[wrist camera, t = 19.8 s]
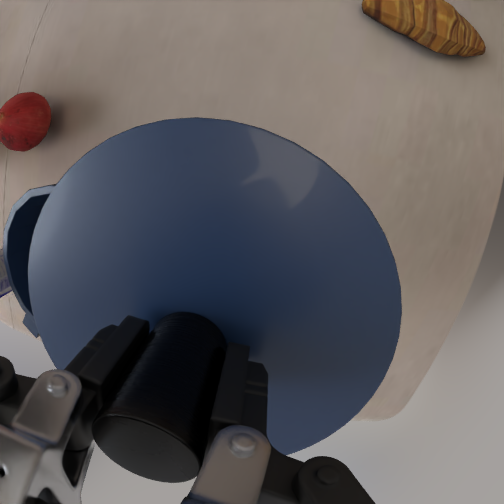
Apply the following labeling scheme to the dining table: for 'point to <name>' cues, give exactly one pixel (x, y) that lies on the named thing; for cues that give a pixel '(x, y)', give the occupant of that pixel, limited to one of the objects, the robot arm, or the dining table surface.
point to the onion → (24, 121)
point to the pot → (23, 246)
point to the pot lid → (215, 285)
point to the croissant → (428, 24)
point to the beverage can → (3, 277)
